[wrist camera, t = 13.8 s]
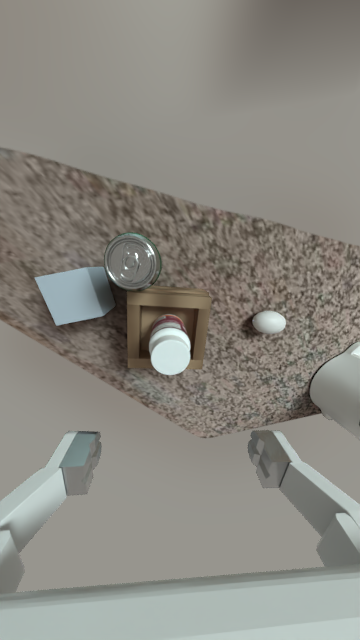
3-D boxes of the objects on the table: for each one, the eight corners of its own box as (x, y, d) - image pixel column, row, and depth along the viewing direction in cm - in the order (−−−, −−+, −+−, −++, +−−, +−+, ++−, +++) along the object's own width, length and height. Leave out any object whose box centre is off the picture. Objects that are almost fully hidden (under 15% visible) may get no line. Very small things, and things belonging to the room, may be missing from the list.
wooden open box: (202, 289, 28) (214, 295, 22) (195, 349, 31) (203, 370, 25) (133, 284, 26) (124, 289, 20) (133, 347, 30) (125, 369, 24)
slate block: (103, 266, 25) (86, 267, 20) (115, 305, 27) (103, 315, 22) (63, 274, 25) (34, 277, 20) (78, 312, 27) (56, 325, 21)
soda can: (166, 254, 26) (169, 245, 14) (155, 285, 27) (150, 301, 15) (133, 240, 25) (108, 219, 13) (124, 274, 26) (93, 281, 15)
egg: (274, 330, 31) (289, 338, 28) (244, 327, 31) (255, 335, 27) (281, 310, 30) (297, 316, 27) (249, 306, 29) (261, 312, 26)
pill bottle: (183, 343, 26) (192, 378, 18) (152, 343, 25) (147, 379, 18) (185, 313, 24) (195, 336, 17) (152, 312, 24) (146, 336, 16)
